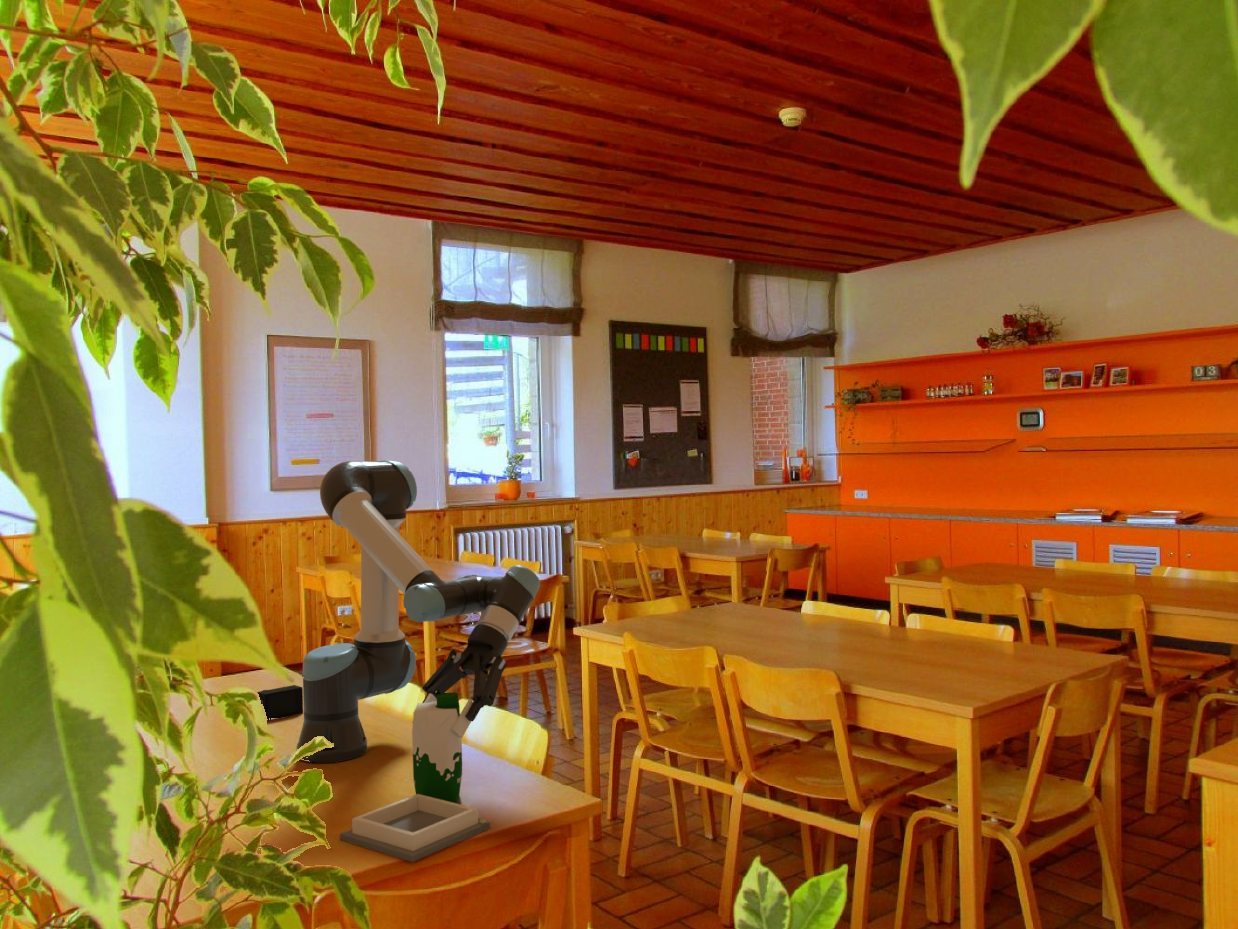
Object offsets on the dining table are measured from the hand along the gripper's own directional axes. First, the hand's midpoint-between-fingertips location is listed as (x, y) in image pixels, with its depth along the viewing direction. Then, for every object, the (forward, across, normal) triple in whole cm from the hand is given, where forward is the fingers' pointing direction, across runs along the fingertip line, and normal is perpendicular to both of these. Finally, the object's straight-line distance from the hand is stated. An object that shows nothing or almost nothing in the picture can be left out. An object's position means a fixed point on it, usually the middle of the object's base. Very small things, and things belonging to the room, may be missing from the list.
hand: (436, 730), depth 193 cm
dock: (+19, -9, 0) cm, 21 cm away
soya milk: (+10, 0, -10) cm, 14 cm away
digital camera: (-8, +84, -28) cm, 89 cm away
